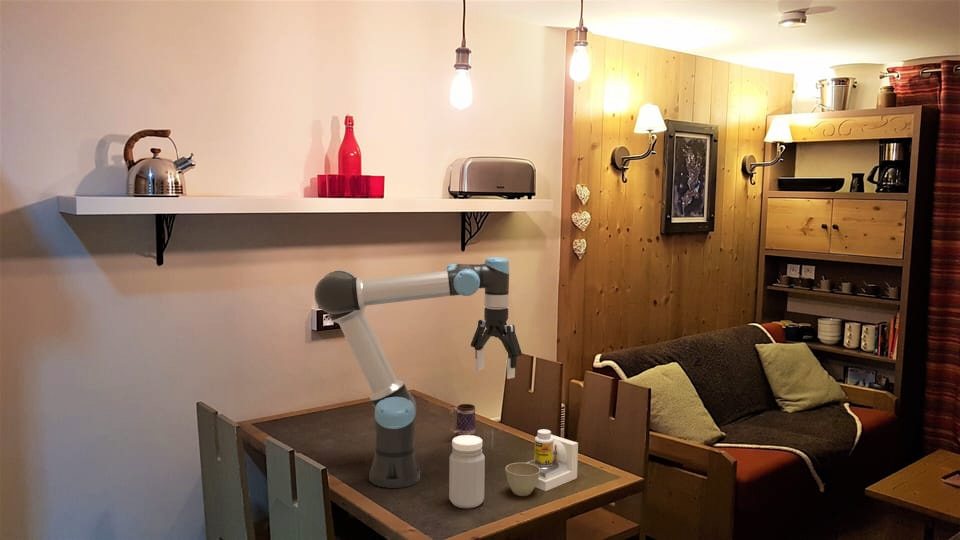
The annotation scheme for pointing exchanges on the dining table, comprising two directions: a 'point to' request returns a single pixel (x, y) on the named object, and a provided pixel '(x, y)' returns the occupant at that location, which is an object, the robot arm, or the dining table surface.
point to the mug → (464, 420)
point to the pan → (550, 469)
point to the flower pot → (522, 477)
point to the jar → (466, 472)
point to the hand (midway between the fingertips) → (495, 373)
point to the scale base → (566, 455)
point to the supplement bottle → (543, 448)
